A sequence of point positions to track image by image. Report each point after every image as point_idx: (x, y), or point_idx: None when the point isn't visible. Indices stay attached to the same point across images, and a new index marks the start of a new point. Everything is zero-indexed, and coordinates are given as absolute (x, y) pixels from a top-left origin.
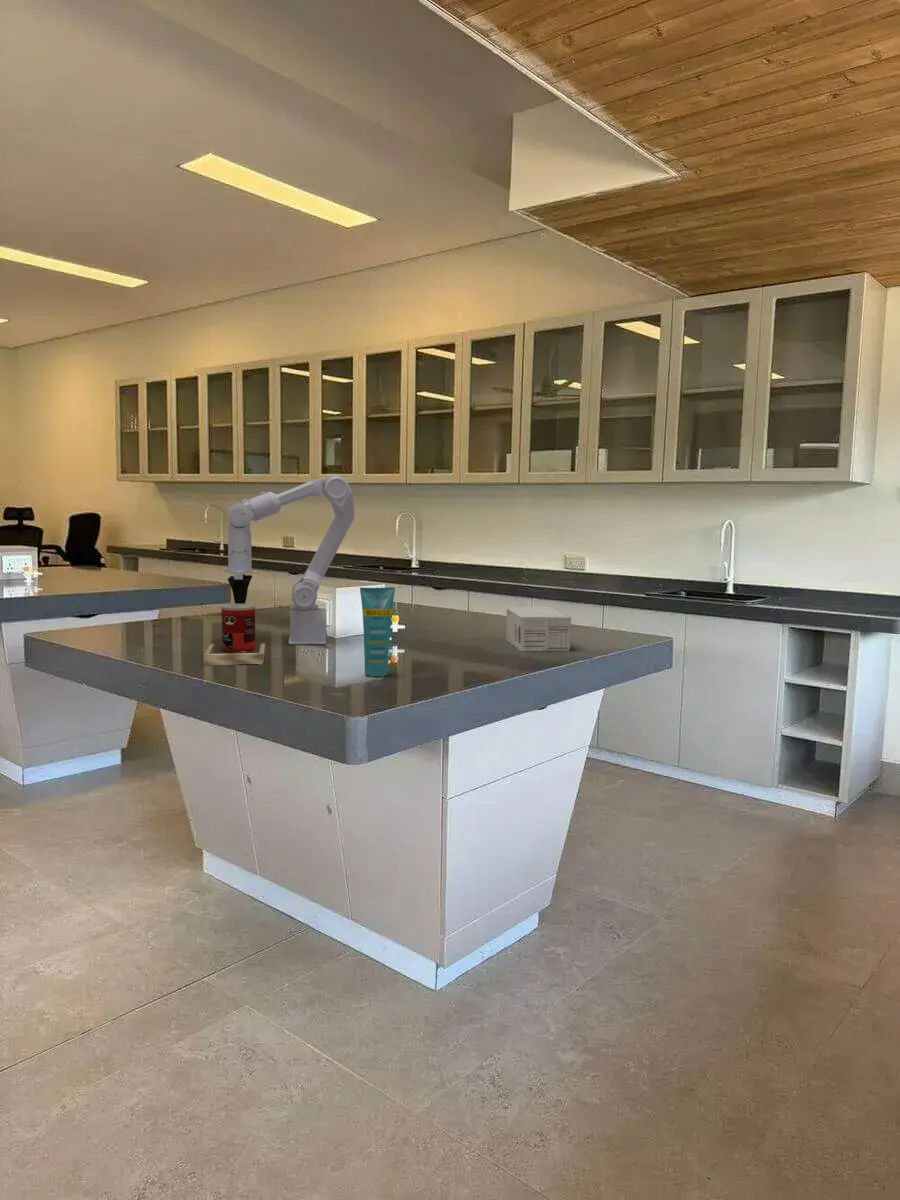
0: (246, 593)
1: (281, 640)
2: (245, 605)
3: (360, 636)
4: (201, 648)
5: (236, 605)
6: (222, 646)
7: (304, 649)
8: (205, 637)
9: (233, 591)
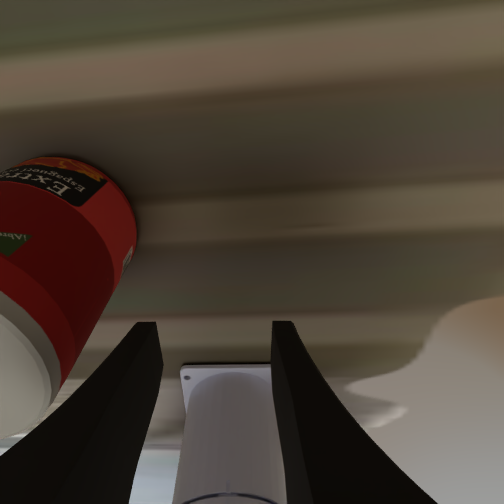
0: (280, 442)
1: None
2: (18, 395)
3: None
4: (80, 37)
5: (5, 348)
6: (25, 161)
7: None
8: (418, 26)
9: (44, 424)
